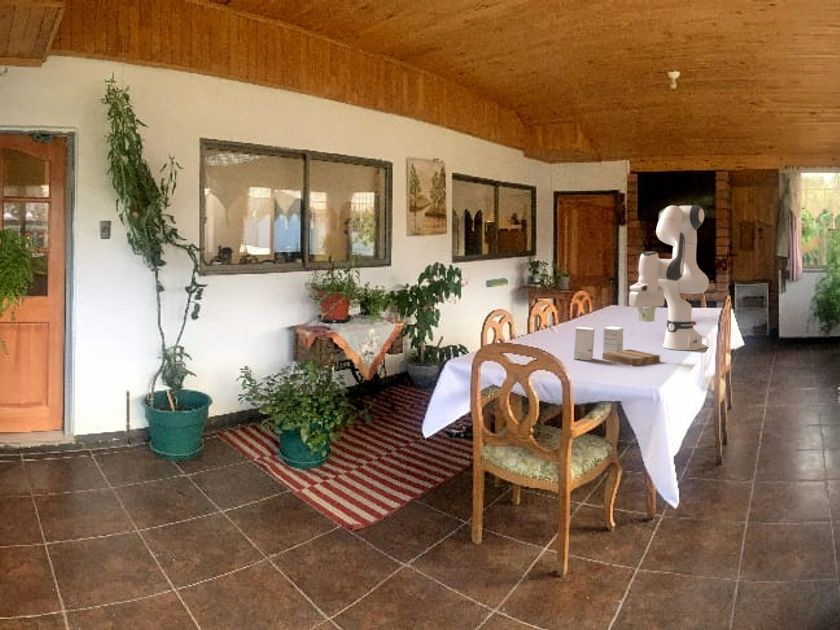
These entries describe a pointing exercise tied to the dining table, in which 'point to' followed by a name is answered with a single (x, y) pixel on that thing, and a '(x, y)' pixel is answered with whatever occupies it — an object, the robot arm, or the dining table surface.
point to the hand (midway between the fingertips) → (646, 316)
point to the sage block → (648, 315)
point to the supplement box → (613, 339)
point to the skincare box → (584, 343)
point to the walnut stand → (631, 357)
